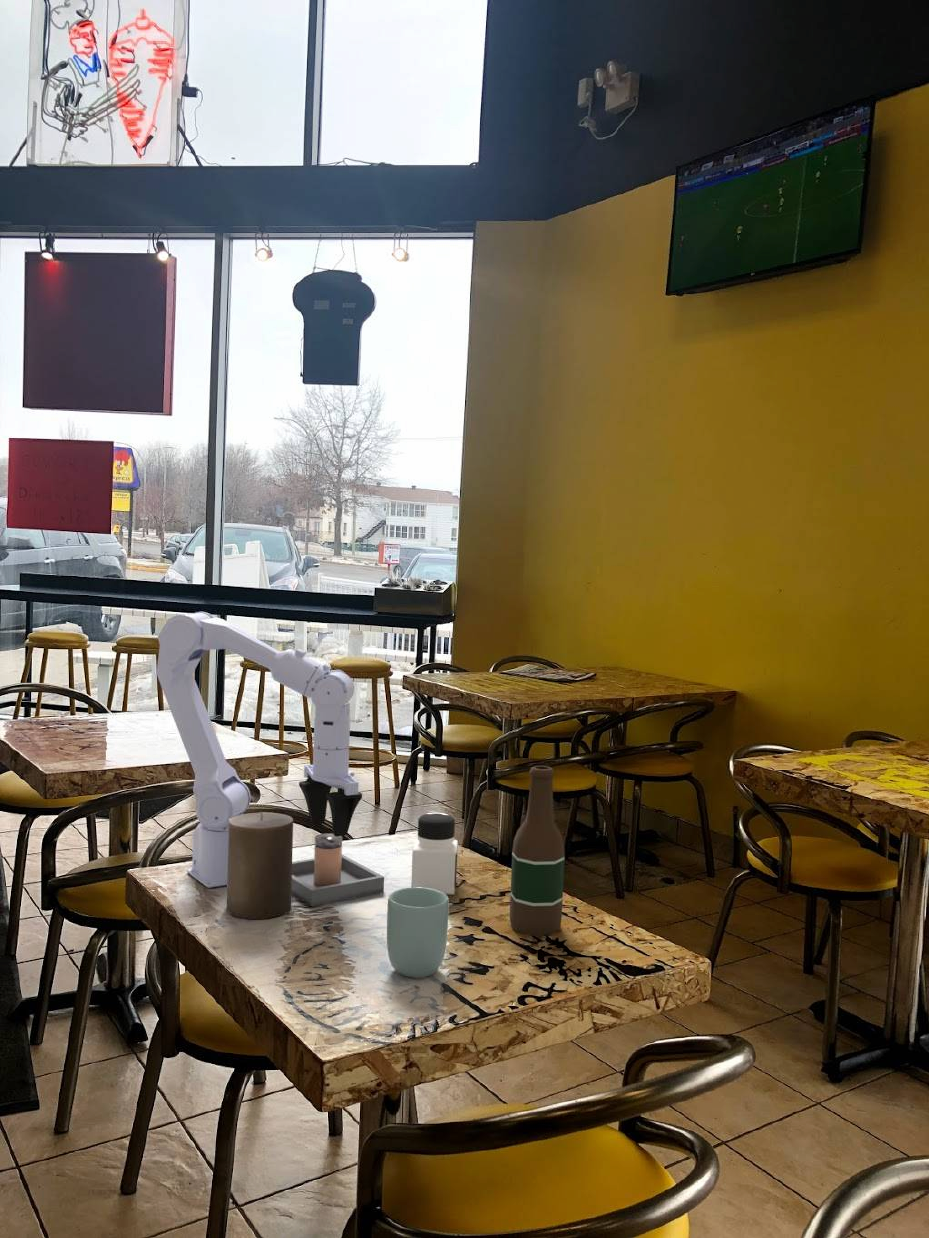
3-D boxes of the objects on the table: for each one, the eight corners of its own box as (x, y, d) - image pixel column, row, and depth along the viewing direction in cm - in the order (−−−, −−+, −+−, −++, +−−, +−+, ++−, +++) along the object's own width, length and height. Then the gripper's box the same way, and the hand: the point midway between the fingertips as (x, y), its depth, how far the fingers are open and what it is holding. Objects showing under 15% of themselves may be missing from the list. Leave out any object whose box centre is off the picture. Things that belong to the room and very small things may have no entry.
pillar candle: (290, 919, 147) (294, 819, 146) (222, 920, 145) (225, 819, 145) (291, 897, 156) (294, 803, 156) (228, 898, 155) (230, 803, 154)
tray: (271, 880, 164) (271, 865, 164) (340, 868, 171) (341, 853, 171) (311, 906, 152) (312, 890, 152) (383, 892, 160) (384, 876, 160)
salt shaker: (308, 880, 162) (310, 835, 162) (332, 876, 165) (333, 832, 165) (322, 888, 159) (323, 842, 158) (345, 884, 162) (347, 838, 161)
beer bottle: (558, 939, 143) (566, 775, 142) (505, 933, 145) (512, 770, 143) (563, 920, 151) (571, 764, 149) (513, 914, 152) (519, 760, 151)
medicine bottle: (455, 895, 160) (458, 822, 159) (410, 893, 160) (413, 820, 159) (456, 880, 167) (459, 810, 166) (413, 879, 167) (416, 808, 167)
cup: (413, 954, 136) (416, 882, 135) (457, 971, 131) (460, 897, 130) (373, 971, 130) (376, 896, 129) (418, 990, 125) (421, 912, 124)
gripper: (376, 752, 157) (373, 837, 158) (331, 737, 169) (328, 815, 170) (336, 756, 153) (334, 843, 154) (293, 740, 164) (291, 821, 165)
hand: (328, 829), depth 161 cm, fingers open, 7 cm apart
